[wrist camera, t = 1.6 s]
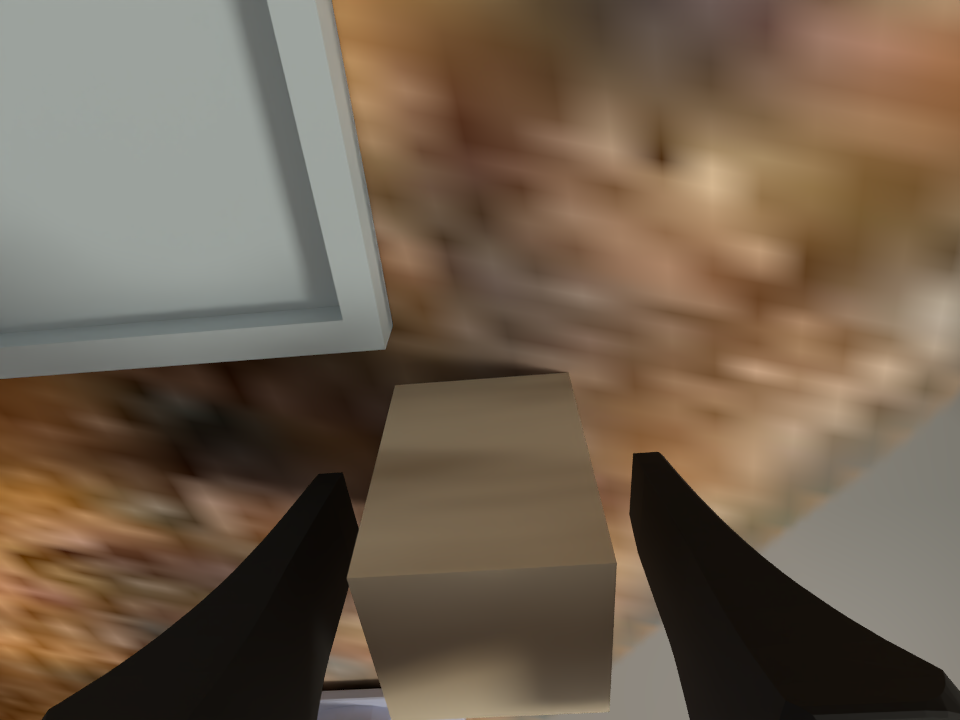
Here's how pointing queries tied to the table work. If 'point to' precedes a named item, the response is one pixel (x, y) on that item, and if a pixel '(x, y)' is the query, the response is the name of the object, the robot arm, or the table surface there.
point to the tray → (180, 187)
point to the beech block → (486, 554)
